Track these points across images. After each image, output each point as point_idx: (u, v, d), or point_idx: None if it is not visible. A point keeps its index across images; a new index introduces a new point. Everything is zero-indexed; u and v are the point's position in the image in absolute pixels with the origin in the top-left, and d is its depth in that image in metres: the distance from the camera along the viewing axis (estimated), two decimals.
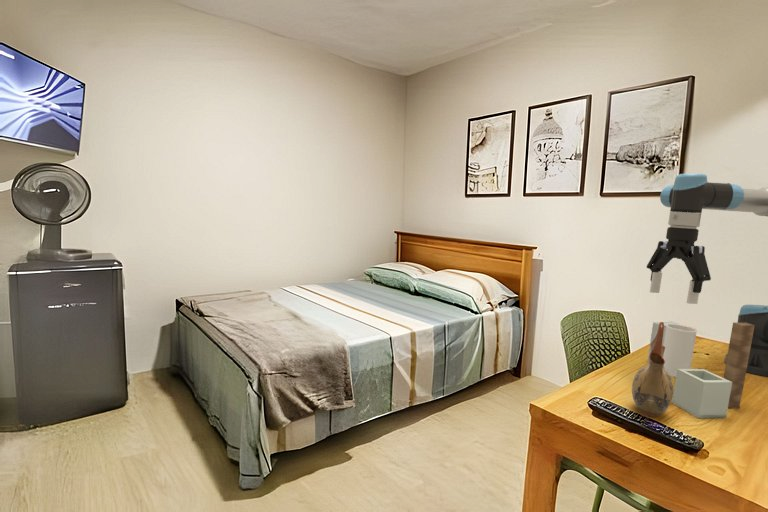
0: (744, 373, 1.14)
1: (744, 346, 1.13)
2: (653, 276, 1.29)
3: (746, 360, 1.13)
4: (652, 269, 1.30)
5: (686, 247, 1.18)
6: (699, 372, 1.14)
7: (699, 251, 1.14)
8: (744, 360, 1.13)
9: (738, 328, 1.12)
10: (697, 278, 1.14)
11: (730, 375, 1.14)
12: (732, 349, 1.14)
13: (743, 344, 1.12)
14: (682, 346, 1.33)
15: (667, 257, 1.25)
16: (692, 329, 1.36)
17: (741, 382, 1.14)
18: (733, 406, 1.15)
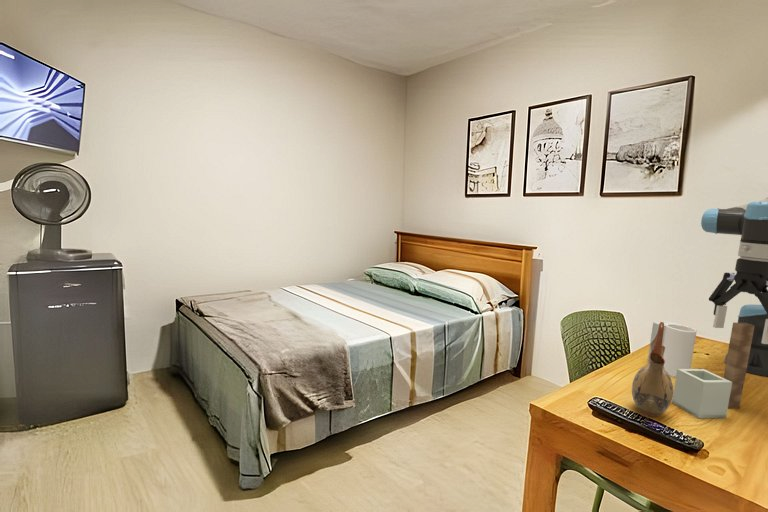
0: (744, 373, 1.14)
1: (744, 346, 1.13)
2: (717, 310, 1.19)
3: (746, 360, 1.13)
4: (716, 302, 1.20)
5: (760, 282, 1.08)
6: (699, 372, 1.14)
7: None
8: (744, 360, 1.13)
9: (738, 328, 1.12)
10: None
11: (730, 375, 1.14)
12: (732, 349, 1.14)
13: (743, 344, 1.12)
14: (682, 346, 1.33)
15: (735, 291, 1.15)
16: (692, 329, 1.36)
17: (741, 382, 1.14)
18: (733, 406, 1.15)
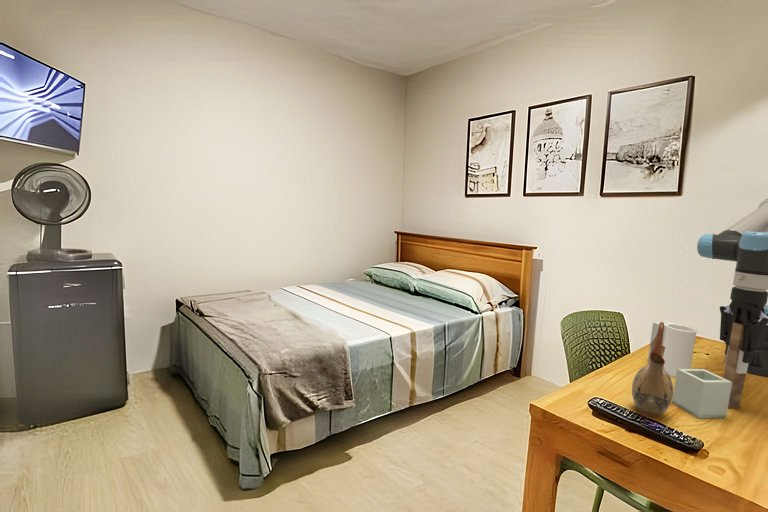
0: None
1: None
2: None
3: None
4: (727, 342, 1.16)
5: (755, 312, 1.09)
6: (699, 372, 1.14)
7: (766, 324, 1.07)
8: None
9: (738, 328, 1.12)
10: (747, 350, 1.11)
11: (730, 375, 1.14)
12: (732, 349, 1.14)
13: None
14: (682, 346, 1.33)
15: (737, 322, 1.14)
16: (692, 329, 1.36)
17: (741, 382, 1.14)
18: (733, 406, 1.15)
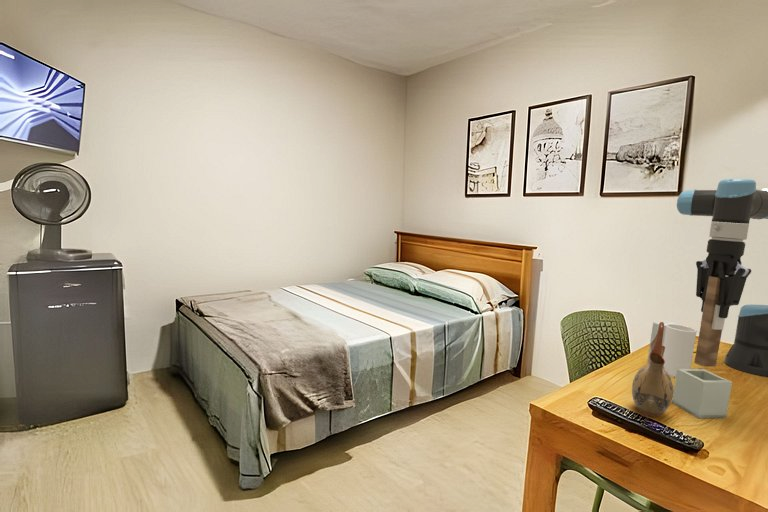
0: None
1: None
2: None
3: None
4: (703, 298, 1.10)
5: (731, 263, 1.04)
6: (699, 372, 1.14)
7: (742, 275, 1.01)
8: None
9: (714, 281, 1.07)
10: (724, 304, 1.05)
11: (706, 331, 1.09)
12: (708, 304, 1.08)
13: None
14: (682, 346, 1.33)
15: None
16: (692, 329, 1.36)
17: (717, 339, 1.09)
18: (709, 364, 1.09)
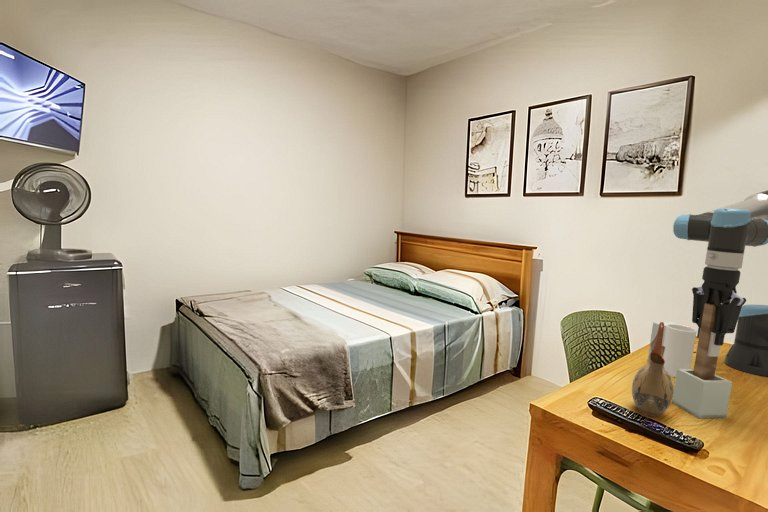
0: None
1: None
2: None
3: None
4: (699, 324, 1.12)
5: (726, 292, 1.05)
6: None
7: (737, 304, 1.02)
8: None
9: (710, 309, 1.08)
10: (719, 331, 1.06)
11: (702, 358, 1.10)
12: (704, 331, 1.09)
13: None
14: (682, 346, 1.33)
15: (709, 303, 1.10)
16: (692, 329, 1.36)
17: (713, 366, 1.10)
18: None
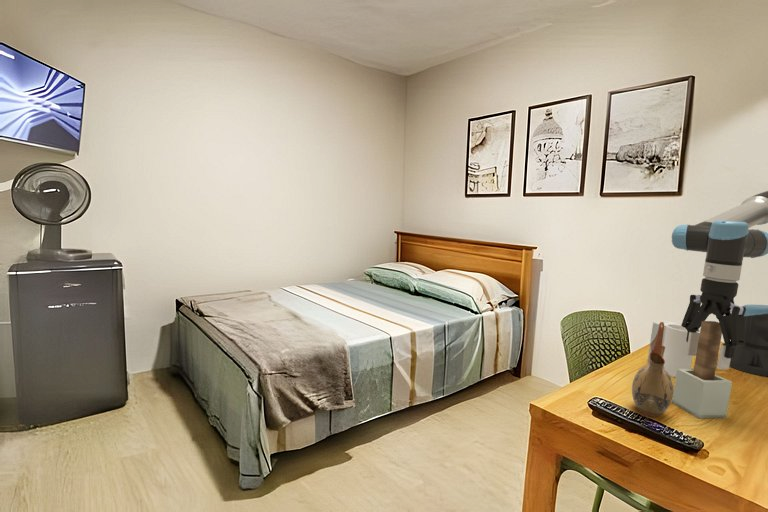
0: (713, 373, 1.10)
1: (713, 345, 1.09)
2: (690, 337, 1.14)
3: (715, 360, 1.10)
4: (688, 329, 1.15)
5: (725, 303, 1.05)
6: None
7: (739, 313, 1.02)
8: (713, 360, 1.10)
9: (707, 327, 1.09)
10: (729, 343, 1.03)
11: (699, 375, 1.10)
12: (701, 348, 1.10)
13: (712, 343, 1.09)
14: (682, 346, 1.33)
15: (703, 313, 1.11)
16: None
17: None
18: None
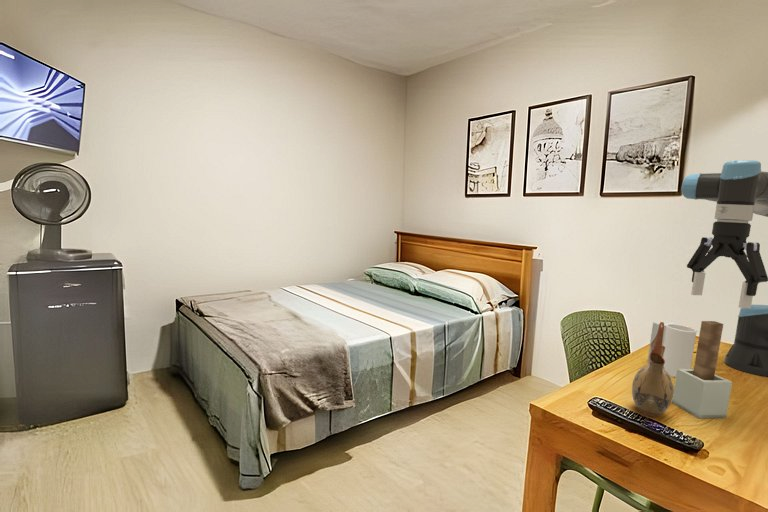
0: (713, 373, 1.10)
1: (712, 345, 1.09)
2: (695, 277, 1.15)
3: (715, 360, 1.10)
4: (694, 269, 1.16)
5: (737, 244, 1.04)
6: None
7: (753, 248, 1.01)
8: (713, 360, 1.10)
9: (706, 327, 1.09)
10: (752, 279, 1.00)
11: (699, 375, 1.10)
12: (701, 348, 1.10)
13: (711, 343, 1.09)
14: (682, 346, 1.33)
15: (712, 255, 1.11)
16: (692, 329, 1.36)
17: None
18: None
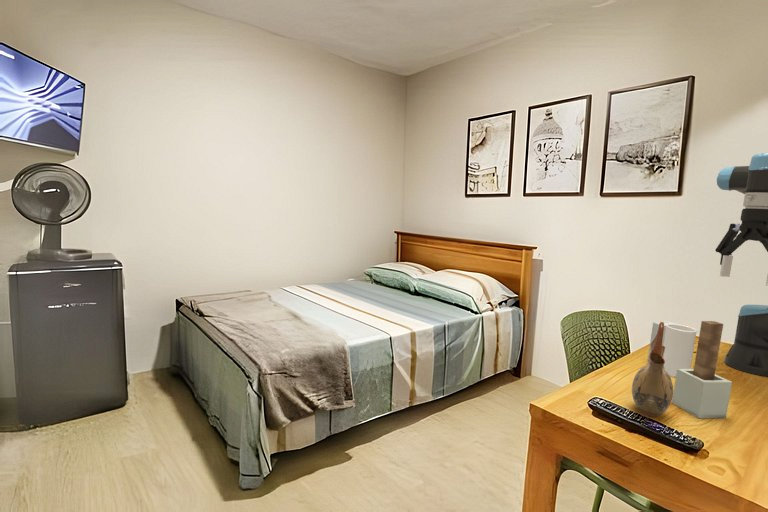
0: (713, 373, 1.10)
1: (712, 345, 1.09)
2: (724, 259, 1.26)
3: (715, 360, 1.10)
4: (722, 252, 1.27)
5: (764, 228, 1.15)
6: None
7: None
8: (713, 360, 1.10)
9: (706, 327, 1.09)
10: None
11: (699, 375, 1.10)
12: (701, 348, 1.10)
13: (711, 343, 1.09)
14: (682, 346, 1.33)
15: (740, 239, 1.22)
16: (692, 329, 1.36)
17: None
18: None
